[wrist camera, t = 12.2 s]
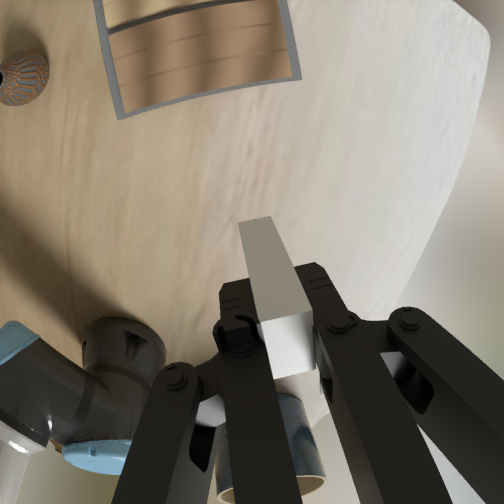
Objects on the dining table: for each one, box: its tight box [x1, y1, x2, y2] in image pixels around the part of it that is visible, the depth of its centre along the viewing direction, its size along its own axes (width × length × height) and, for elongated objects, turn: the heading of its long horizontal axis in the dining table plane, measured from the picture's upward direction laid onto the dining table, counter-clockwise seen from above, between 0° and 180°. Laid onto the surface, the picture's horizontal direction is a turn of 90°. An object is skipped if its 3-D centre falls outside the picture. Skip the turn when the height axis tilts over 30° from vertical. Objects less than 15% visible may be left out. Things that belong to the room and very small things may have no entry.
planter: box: [215, 393, 327, 504], centre depth 56 cm, size 22×22×20 cm
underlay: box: [94, 0, 302, 120], centre depth 27 cm, size 22×21×1 cm
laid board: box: [108, 0, 292, 114], centre depth 28 cm, size 19×10×2 cm, turn 100°
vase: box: [0, 51, 49, 106], centre depth 23 cm, size 7×7×9 cm
